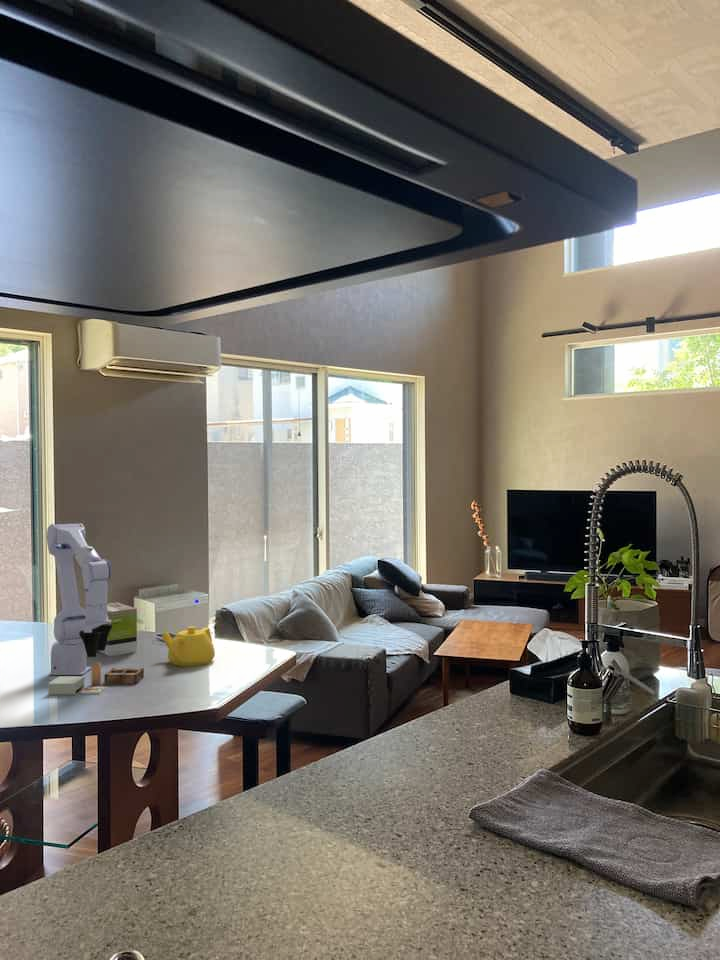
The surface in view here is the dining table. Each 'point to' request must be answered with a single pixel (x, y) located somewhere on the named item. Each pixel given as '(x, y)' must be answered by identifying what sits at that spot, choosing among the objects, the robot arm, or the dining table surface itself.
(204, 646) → the teapot
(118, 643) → the tea box
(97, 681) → the pin
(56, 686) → the cover
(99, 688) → the tile
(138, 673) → the wooden compartment tray
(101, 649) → the robot arm
